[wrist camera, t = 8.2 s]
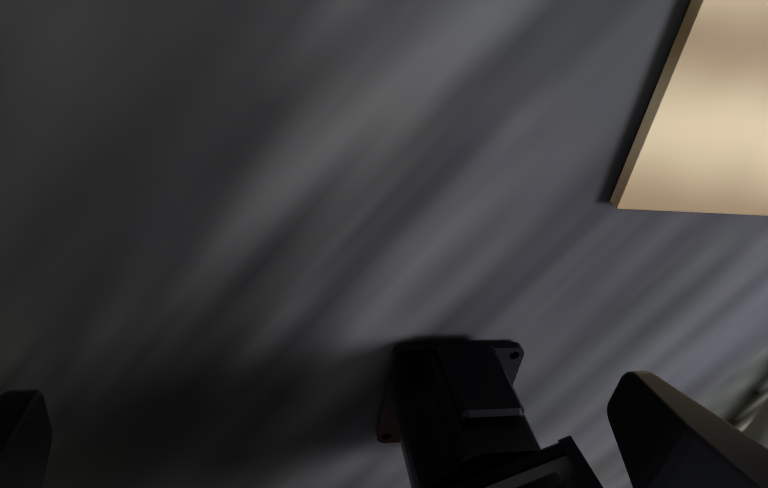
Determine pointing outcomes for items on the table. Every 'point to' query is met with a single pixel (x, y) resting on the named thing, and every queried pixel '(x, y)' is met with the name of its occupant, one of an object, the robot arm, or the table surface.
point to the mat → (706, 118)
